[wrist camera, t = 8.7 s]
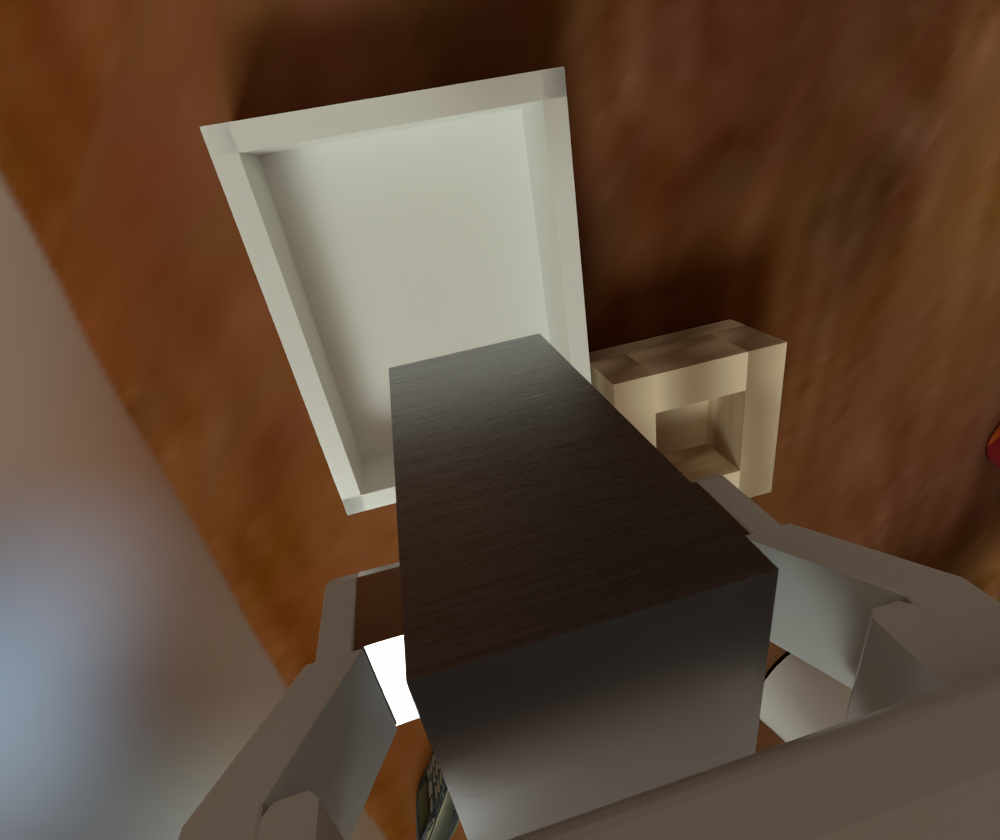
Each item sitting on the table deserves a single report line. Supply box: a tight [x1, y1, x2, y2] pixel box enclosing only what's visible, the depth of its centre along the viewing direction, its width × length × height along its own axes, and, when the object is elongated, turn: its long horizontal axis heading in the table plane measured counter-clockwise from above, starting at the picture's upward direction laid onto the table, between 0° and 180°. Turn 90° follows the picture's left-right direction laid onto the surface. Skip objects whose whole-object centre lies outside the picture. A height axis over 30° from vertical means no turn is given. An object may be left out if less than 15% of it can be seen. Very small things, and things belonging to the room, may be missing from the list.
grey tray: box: [200, 66, 591, 515], centre depth 25 cm, size 14×18×4 cm
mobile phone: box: [416, 752, 460, 840], centre depth 43 cm, size 5×3×15 cm
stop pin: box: [389, 333, 779, 840], centre depth 10 cm, size 4×4×9 cm
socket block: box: [589, 319, 787, 498], centre depth 31 cm, size 10×10×5 cm
